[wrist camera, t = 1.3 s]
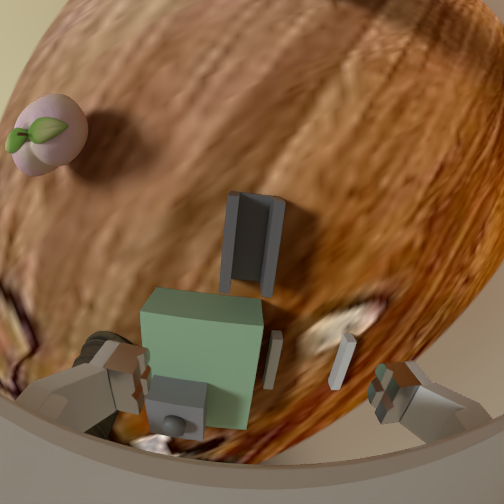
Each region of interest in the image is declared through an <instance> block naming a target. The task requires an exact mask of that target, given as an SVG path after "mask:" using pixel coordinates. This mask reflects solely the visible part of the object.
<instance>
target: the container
mask: <svg viewBox="0 0 504 504" xmlns="http://www.w3.org/2000/svg"><path fill="white" fill-rule="evenodd" d="M107 340H113V341H118V342H121V343H127V344H129V343H128V342H127V341H126V340H124V339H123V338H121V337H120V336H118V335H116V334H114V333H111V332H107V331H99V332H96V333H94V334H92V335H91V336H90V337H88V339H87V340H86V342H85V344H84V345H83V347H82V349H81V354H80V355H79V357H77V358H76V360H75V361H74V364H73V366H72V368H73V367H76V366H78V365H81V364H84V363H87V364H89V363H90V361H91V360H92V359H93V358H94V356H95V355H96V354H97V352H98V351H99V350H100V348H101V347H102V346H103V345H104V343H105V342H106V341H107ZM118 413H119V410H116V411H115V412H114V413H112V414H111V415H109V416H108V417H106V418H105V419H103V420H102V421H100V422H99V423H97V424H96V425H94V426H93V427H91V428H90V429H88V430H87V431H85V432H84V433H86V434H89V435H92V436H95V437H98V438H101V439H104V440H107V438H108V436H109V433H110V431H111V429H112V426H113V424H114V422H115V419H116V417H117V415H118Z"/></svg>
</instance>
